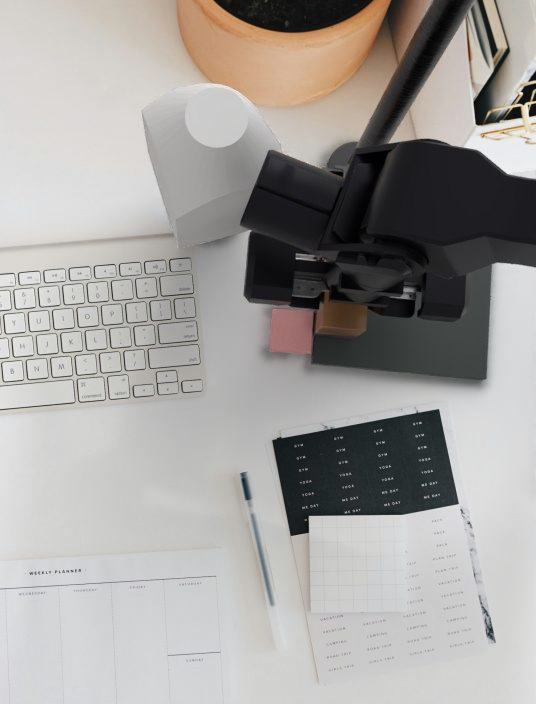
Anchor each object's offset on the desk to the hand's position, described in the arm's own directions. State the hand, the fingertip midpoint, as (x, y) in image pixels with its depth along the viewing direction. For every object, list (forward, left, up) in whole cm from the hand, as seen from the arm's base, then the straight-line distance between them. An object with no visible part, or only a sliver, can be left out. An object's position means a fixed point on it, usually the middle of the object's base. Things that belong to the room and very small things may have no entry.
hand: (337, 295), depth 71 cm
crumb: (+4, +4, -2) cm, 6 cm away
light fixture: (+13, -8, -2) cm, 15 cm away
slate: (-7, 0, -2) cm, 7 cm away
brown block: (0, 0, -1) cm, 1 cm away
